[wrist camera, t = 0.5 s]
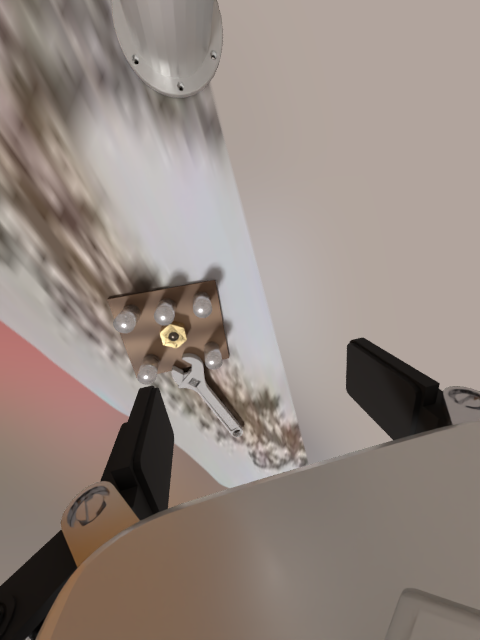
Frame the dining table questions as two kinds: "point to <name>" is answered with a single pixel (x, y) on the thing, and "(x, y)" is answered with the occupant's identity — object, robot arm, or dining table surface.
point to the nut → (173, 334)
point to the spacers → (164, 317)
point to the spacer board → (197, 329)
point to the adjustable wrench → (205, 391)
